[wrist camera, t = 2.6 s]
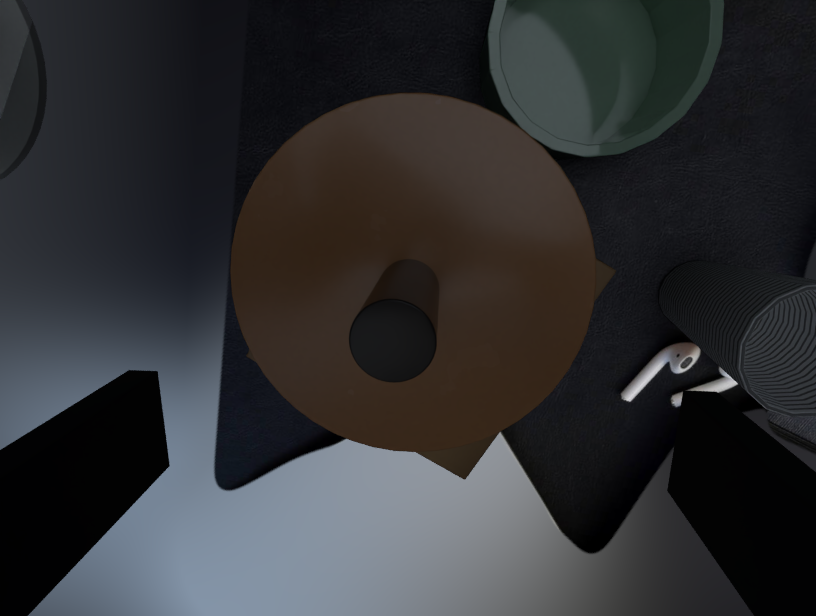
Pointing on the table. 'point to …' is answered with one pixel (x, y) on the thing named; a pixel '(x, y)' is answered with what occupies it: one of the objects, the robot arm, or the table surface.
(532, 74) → the pot
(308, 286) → the lid
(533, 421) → the table surface
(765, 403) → the cup
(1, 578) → the robot arm
